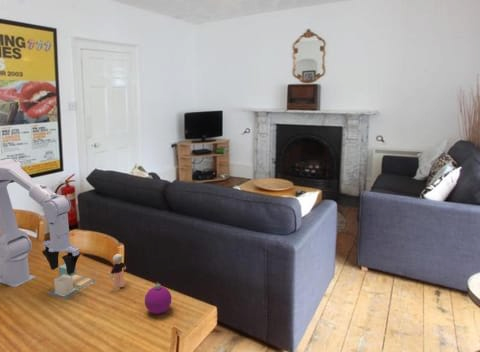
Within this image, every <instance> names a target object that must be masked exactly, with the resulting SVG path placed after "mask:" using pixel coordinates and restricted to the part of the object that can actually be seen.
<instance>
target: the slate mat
mask: <svg viewBox="0 0 480 352" xmlns="http://www.w3.org/2000/svg"><path fill="white" fill-rule="evenodd" d="M79 276H82V277H86V278H89V279H91V280H92V283H91V284H90V285H88V286H86V287H84V288H83V289H81V290H80V289H76V288H73V289H74V290H73V291H71V292H69V293H68V294H66V295H64V296H63V295H60V294H57V293H55V288H53V289H52V290H50V291H47V294H49V295H51V296H53V297H57V298H59V299H63V300H68V299H70V298H71V297H73V296H75V295H76V294H78V293H79V292H81V291H83V290H84V289H86V288H88V287H89V286H91V285H94V283H96V282H98V281H99V280H98V279H95V278H91V277H87V276H84V275H79Z"/></svg>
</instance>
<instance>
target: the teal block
mask: <svg viewBox="0 0 480 352" xmlns="http://www.w3.org/2000/svg"><path fill="white" fill-rule="evenodd" d="M58 274H59V276H58V277H60V276H62V275H63V274H65V275H68V273H67V269H66V264H65V263H64V264H61V265H60V266H59V265H58ZM73 275H77V265H76V266H75V271H74V273H72V274H70V275H68V276H73Z"/></svg>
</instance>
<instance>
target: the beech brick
mask: <svg viewBox="0 0 480 352" xmlns="http://www.w3.org/2000/svg"><path fill="white" fill-rule="evenodd" d="M82 276H83V275H81V276H79V275H78V274H76V275H73V276H72V278H73V288H76V289H80V290H81V289H83V288H84V287H86V286H88V285H90V284H91V283H92V280H91V279H92V278H91V279H89V278H90V277H88V278H86V277H87V276H84V277H82ZM91 285H92V284H91ZM91 285H90V286H91ZM88 287H89V286H88ZM86 288H87V287H86ZM83 290H84V289H83ZM81 291H82V290H81Z"/></svg>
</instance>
